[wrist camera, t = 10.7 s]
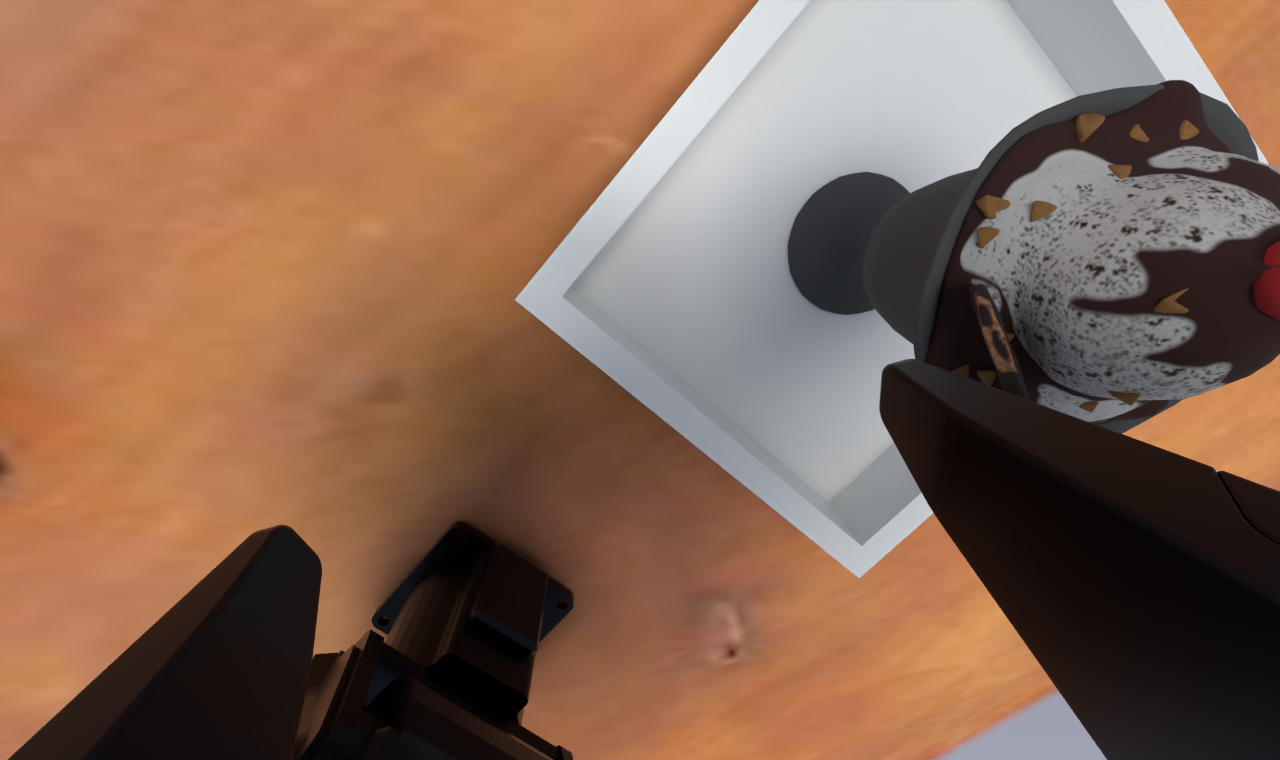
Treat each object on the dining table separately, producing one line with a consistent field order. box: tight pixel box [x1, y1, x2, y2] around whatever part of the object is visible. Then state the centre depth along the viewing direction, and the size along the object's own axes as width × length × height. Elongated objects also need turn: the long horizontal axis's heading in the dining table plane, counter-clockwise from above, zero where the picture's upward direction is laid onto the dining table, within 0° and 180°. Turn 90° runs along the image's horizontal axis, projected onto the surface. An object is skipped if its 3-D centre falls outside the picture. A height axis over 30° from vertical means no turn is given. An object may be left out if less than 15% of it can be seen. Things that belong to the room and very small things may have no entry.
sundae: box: [788, 80, 1280, 434], centre depth 12 cm, size 7×7×15 cm
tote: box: [515, 0, 1269, 578], centre depth 18 cm, size 18×16×4 cm
